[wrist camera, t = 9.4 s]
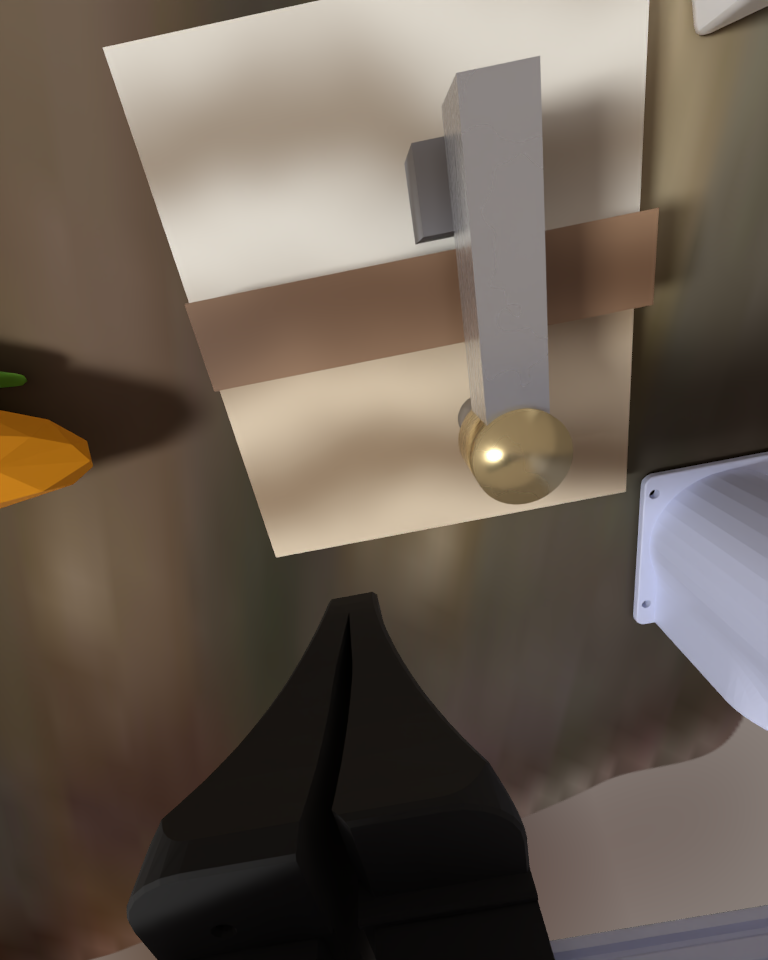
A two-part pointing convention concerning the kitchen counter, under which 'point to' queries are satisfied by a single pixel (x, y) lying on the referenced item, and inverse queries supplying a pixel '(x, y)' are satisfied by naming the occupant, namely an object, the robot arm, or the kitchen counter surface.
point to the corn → (36, 453)
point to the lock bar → (503, 280)
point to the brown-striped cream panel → (388, 242)
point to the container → (722, 13)
